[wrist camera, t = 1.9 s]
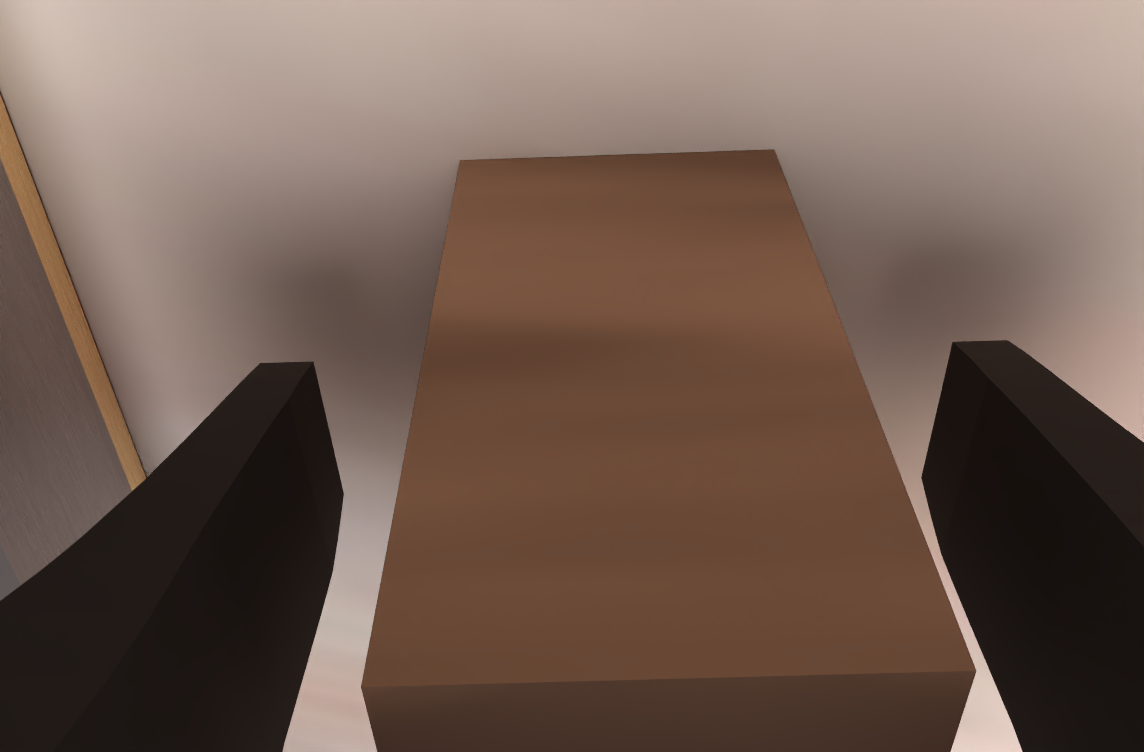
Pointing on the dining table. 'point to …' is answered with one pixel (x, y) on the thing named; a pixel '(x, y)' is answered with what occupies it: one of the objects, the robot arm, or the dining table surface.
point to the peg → (650, 485)
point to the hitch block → (48, 392)
